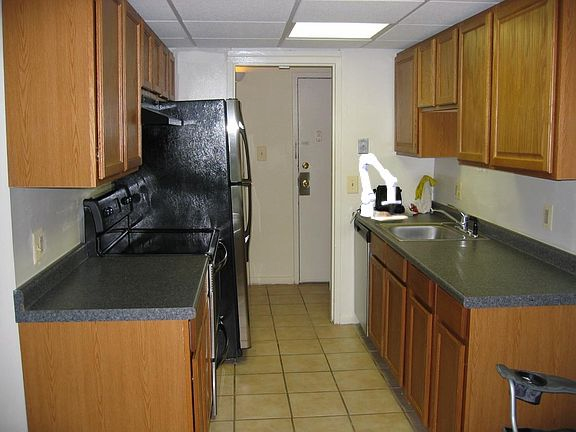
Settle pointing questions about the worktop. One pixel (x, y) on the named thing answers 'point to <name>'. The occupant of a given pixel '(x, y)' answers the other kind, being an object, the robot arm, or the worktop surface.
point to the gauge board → (390, 217)
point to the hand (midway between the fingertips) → (391, 214)
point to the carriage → (384, 214)
